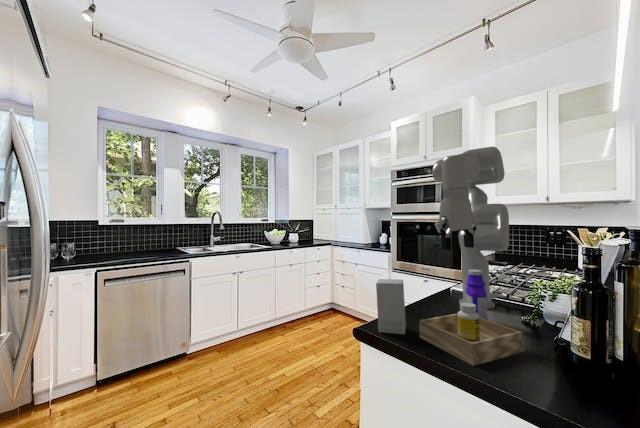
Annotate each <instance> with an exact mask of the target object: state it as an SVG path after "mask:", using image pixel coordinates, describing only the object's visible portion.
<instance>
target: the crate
mask: <svg viewBox="0 0 640 428" xmlns="http://www.w3.org/2000/svg"><path fill="white" fill-rule="evenodd" d="M418 324H419V325H418V326H419V328H418V329H419V330H418V332H419V338H420V339H421V340H424V341H426V342H428V343H429V344H431V345H433V346H434V347H437V348H439V349H440V350H443V351H444V352H446V353H448V354H450V355H452V356H453V357H455V358H456V359H457V358H458V359H460V360H461V361H463V362H465V363H467V364H469V365H471V366H472V367H473V366H478V365H482V364H485V363H486V364H487V363H489V362H492V361H493V362H494V361H496V360H499V359H503V358H507V357H510V356H513V355H517V354H522V353H524V352H525V350H524V349H525V347H524V332H523V331H521V330H518V329H516V328H511V327H509V326H507V325H502V324H500V323H498V322H494V321H492V320H486V319H483V318H480V317H479V324H480V341H476V342H470V341H468V340H465V339H463V338H461V337H459V336H458V312H457V313H453V314H446V315H441V316H435V317H431V318H426V319H419V321H418Z"/></svg>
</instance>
